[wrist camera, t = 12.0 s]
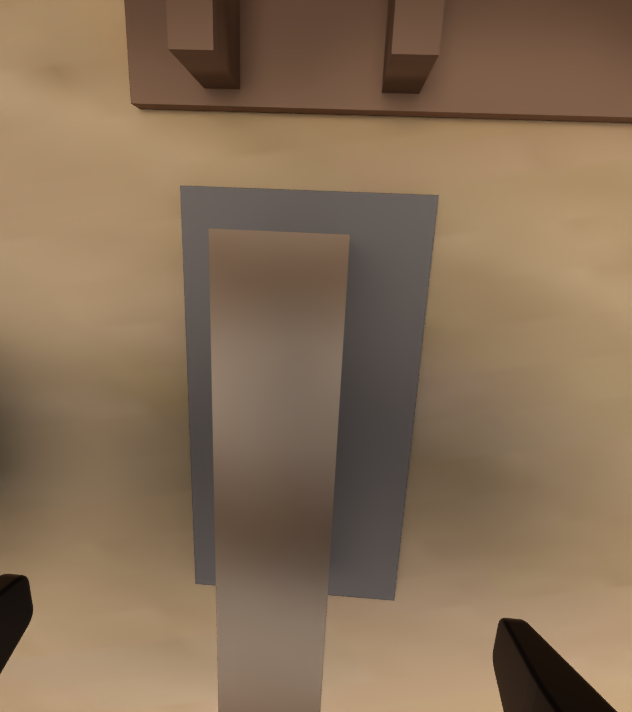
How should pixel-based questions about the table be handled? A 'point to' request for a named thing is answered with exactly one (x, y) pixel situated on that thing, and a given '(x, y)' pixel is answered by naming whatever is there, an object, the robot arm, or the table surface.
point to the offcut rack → (385, 57)
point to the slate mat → (359, 361)
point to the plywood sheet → (274, 458)
